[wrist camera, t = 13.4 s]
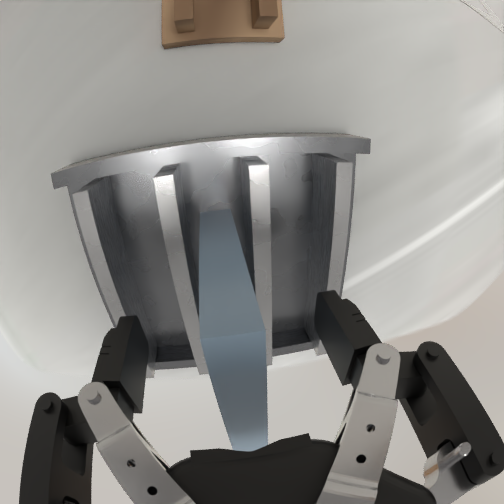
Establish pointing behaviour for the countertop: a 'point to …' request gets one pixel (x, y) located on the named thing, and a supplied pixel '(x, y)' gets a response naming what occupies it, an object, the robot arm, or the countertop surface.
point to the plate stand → (220, 21)
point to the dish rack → (188, 228)
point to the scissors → (493, 19)
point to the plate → (232, 332)
